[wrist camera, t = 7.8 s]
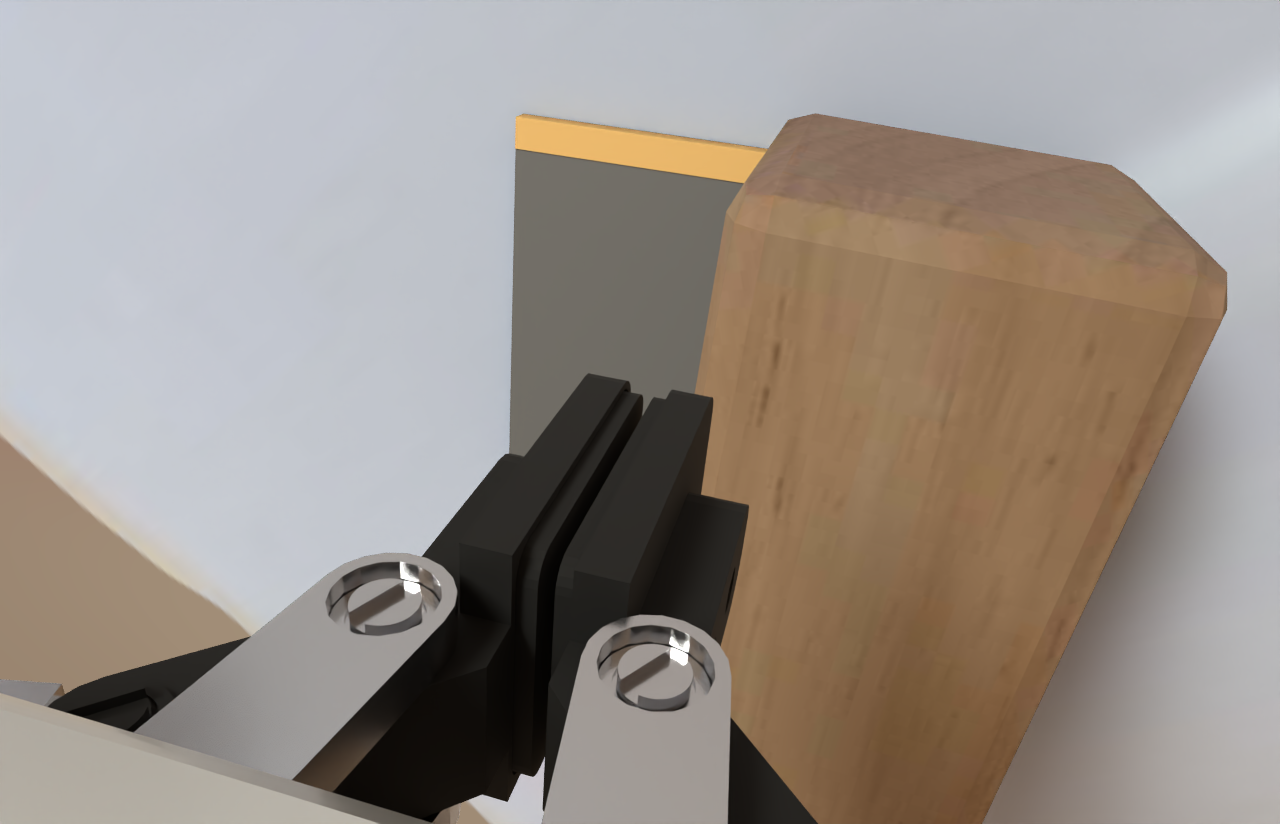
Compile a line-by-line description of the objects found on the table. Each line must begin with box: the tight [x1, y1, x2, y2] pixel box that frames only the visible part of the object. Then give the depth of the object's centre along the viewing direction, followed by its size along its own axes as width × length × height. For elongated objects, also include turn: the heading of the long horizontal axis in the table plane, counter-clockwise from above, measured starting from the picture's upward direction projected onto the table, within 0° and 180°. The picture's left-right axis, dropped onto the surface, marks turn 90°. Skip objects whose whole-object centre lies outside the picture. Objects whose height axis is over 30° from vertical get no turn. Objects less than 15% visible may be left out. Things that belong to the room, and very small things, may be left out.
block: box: [695, 114, 1227, 824], centre depth 26 cm, size 10×10×20 cm
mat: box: [509, 114, 768, 456], centre depth 31 cm, size 18×16×1 cm
